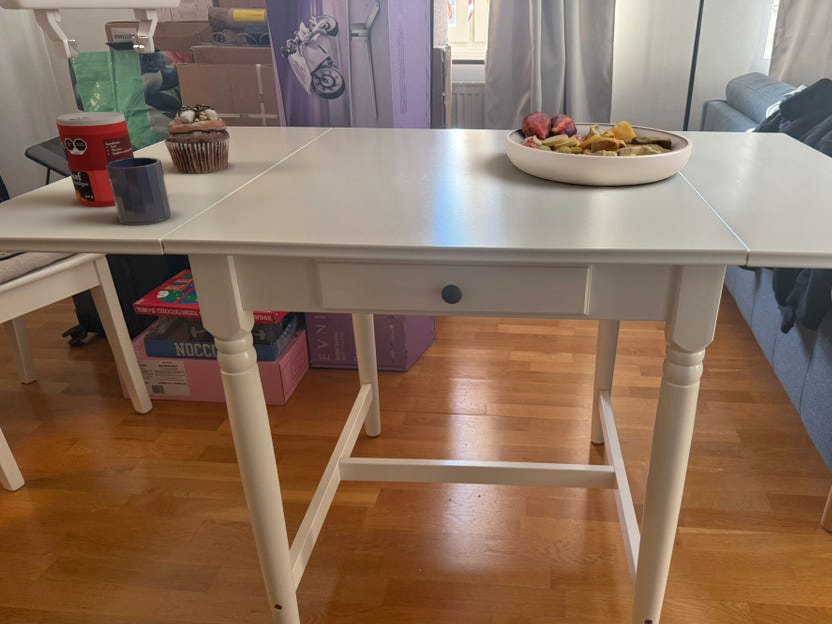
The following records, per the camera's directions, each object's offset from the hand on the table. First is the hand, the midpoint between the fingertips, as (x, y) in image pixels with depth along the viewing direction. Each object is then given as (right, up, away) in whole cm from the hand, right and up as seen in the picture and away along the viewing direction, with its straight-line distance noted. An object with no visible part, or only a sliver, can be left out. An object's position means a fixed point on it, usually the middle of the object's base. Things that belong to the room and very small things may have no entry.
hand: (108, 55), depth 75 cm
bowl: (+61, -3, +36) cm, 71 cm away
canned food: (-9, -13, +17) cm, 23 cm away
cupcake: (-3, -3, +34) cm, 34 cm away
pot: (0, -16, +9) cm, 19 cm away
